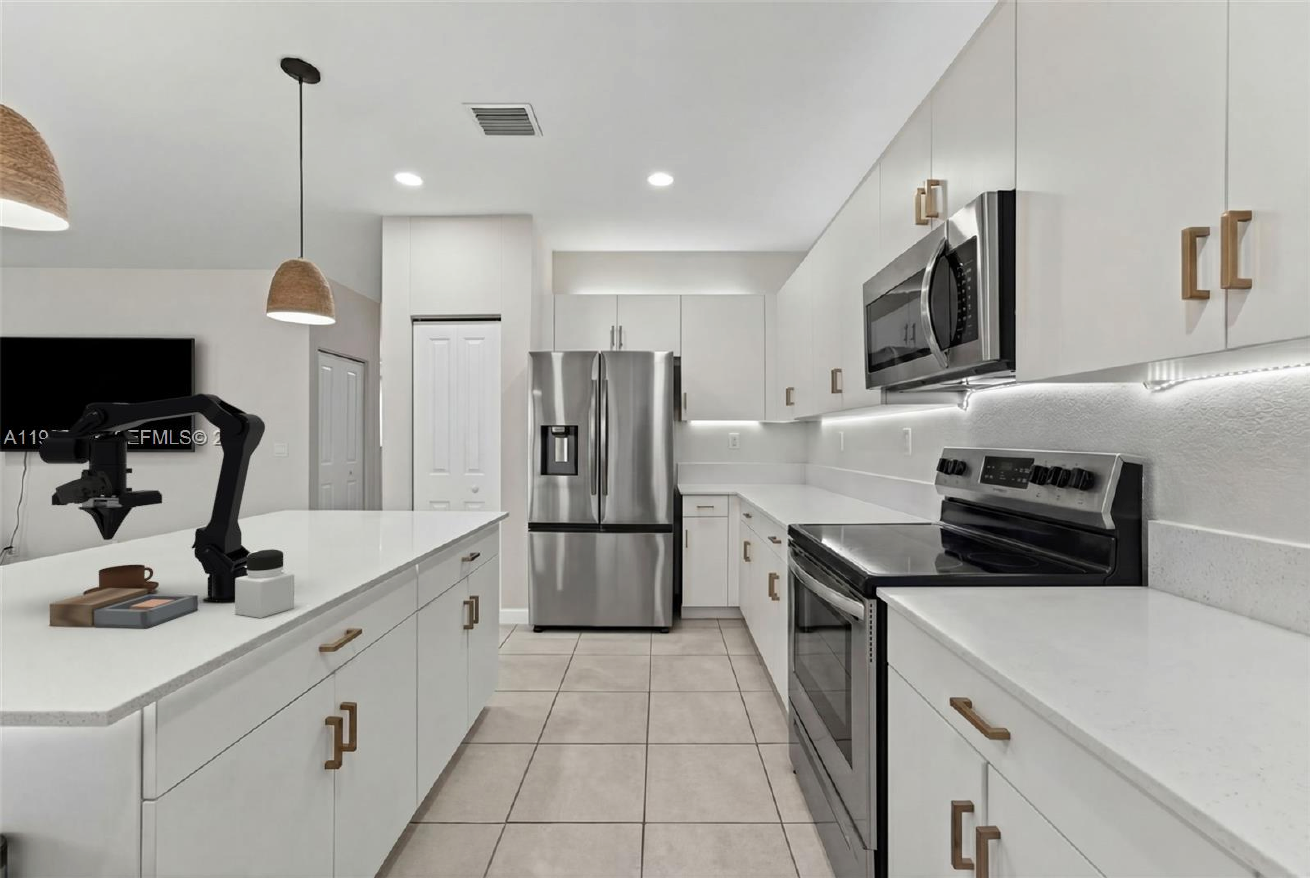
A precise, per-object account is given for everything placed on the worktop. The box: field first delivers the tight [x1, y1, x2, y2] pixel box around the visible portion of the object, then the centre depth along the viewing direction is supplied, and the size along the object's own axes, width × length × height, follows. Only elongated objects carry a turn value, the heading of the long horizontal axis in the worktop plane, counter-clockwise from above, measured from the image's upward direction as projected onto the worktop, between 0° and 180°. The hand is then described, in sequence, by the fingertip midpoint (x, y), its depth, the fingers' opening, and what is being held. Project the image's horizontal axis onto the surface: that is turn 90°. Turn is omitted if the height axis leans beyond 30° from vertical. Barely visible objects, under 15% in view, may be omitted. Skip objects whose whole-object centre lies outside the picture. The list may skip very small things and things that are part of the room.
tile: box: [130, 599, 175, 610], centre depth 110 cm, size 4×4×2 cm
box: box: [93, 593, 199, 630], centre depth 111 cm, size 10×11×3 cm
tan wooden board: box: [49, 588, 149, 628], centre depth 111 cm, size 8×11×4 cm
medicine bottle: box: [234, 548, 295, 619], centre depth 116 cm, size 7×7×12 cm
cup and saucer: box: [82, 564, 160, 595], centre depth 126 cm, size 12×12×6 cm
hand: (107, 539), depth 121 cm, fingers closed
